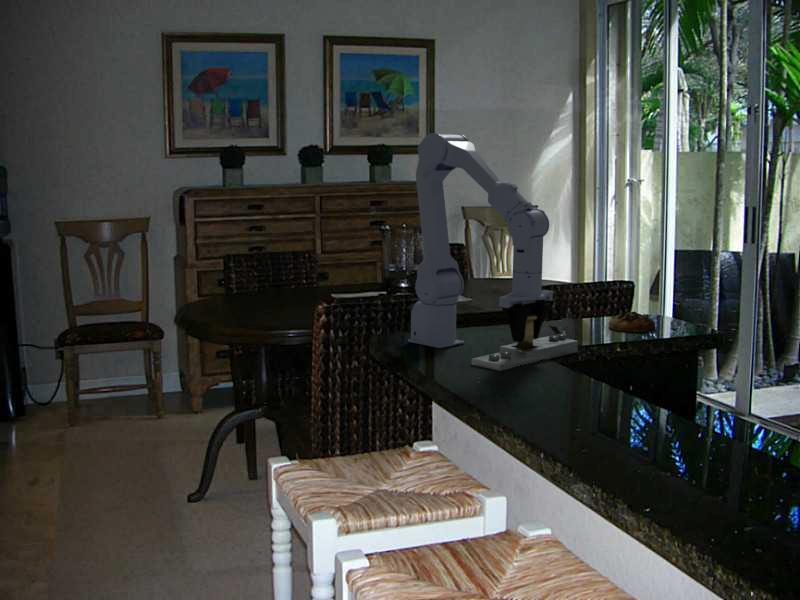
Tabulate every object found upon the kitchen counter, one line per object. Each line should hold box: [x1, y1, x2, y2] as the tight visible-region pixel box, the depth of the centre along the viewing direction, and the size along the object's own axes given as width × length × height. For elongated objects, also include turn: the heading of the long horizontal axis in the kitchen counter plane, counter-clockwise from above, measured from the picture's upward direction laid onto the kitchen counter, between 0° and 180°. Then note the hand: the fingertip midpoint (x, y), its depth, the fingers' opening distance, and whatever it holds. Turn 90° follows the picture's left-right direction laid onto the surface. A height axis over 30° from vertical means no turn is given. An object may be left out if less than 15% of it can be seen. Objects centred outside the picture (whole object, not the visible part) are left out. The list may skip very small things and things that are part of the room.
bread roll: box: [608, 311, 656, 334], centre depth 221 cm, size 11×11×5 cm
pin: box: [516, 313, 537, 350], centre depth 188 cm, size 4×4×7 cm
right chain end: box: [499, 333, 579, 360], centre depth 191 cm, size 7×17×3 cm, turn 135°
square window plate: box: [471, 351, 551, 372], centre depth 185 cm, size 7×16×2 cm, turn 135°
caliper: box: [548, 312, 574, 340], centre depth 215 cm, size 20×1×6 cm, turn 3°
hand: (525, 339), depth 188 cm, fingers closed on pin, 4 cm apart
